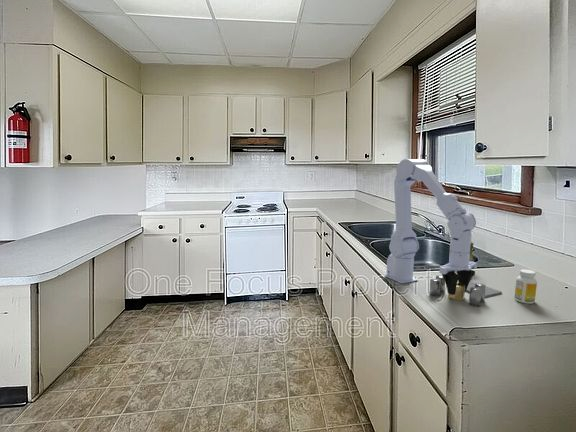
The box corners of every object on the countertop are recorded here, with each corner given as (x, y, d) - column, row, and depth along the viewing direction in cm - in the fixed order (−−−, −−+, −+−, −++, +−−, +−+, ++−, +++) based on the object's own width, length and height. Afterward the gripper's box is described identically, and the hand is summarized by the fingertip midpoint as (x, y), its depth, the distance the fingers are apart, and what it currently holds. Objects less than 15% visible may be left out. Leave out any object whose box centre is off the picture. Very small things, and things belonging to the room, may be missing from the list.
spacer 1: (427, 294, 116) (428, 279, 116) (434, 292, 118) (435, 278, 117) (434, 297, 114) (435, 282, 113) (441, 295, 115) (442, 280, 114)
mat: (452, 286, 124) (452, 284, 124) (469, 282, 128) (469, 280, 127) (483, 297, 113) (483, 296, 113) (501, 293, 117) (502, 291, 117)
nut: (444, 295, 115) (445, 282, 114) (454, 293, 117) (455, 280, 116) (458, 301, 110) (459, 287, 110) (468, 299, 112) (469, 285, 111)
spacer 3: (466, 303, 108) (467, 288, 108) (473, 302, 110) (474, 286, 109) (475, 307, 106) (476, 291, 105) (482, 305, 107) (483, 289, 106)
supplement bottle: (512, 300, 111) (515, 271, 109) (516, 296, 115) (519, 267, 113) (533, 305, 107) (536, 275, 106) (536, 300, 111) (539, 271, 109)
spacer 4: (471, 299, 112) (472, 284, 111) (477, 297, 113) (479, 282, 113) (480, 302, 109) (481, 287, 109) (486, 301, 111) (487, 285, 110)
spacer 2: (433, 290, 120) (434, 275, 119) (439, 288, 121) (440, 274, 121) (440, 293, 117) (441, 278, 117) (446, 291, 119) (447, 277, 118)
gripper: (454, 256, 105) (450, 300, 107) (486, 251, 111) (483, 293, 113) (435, 251, 111) (432, 292, 113) (467, 246, 117) (464, 286, 119)
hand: (456, 292), depth 113 cm, fingers closed on nut, 4 cm apart
